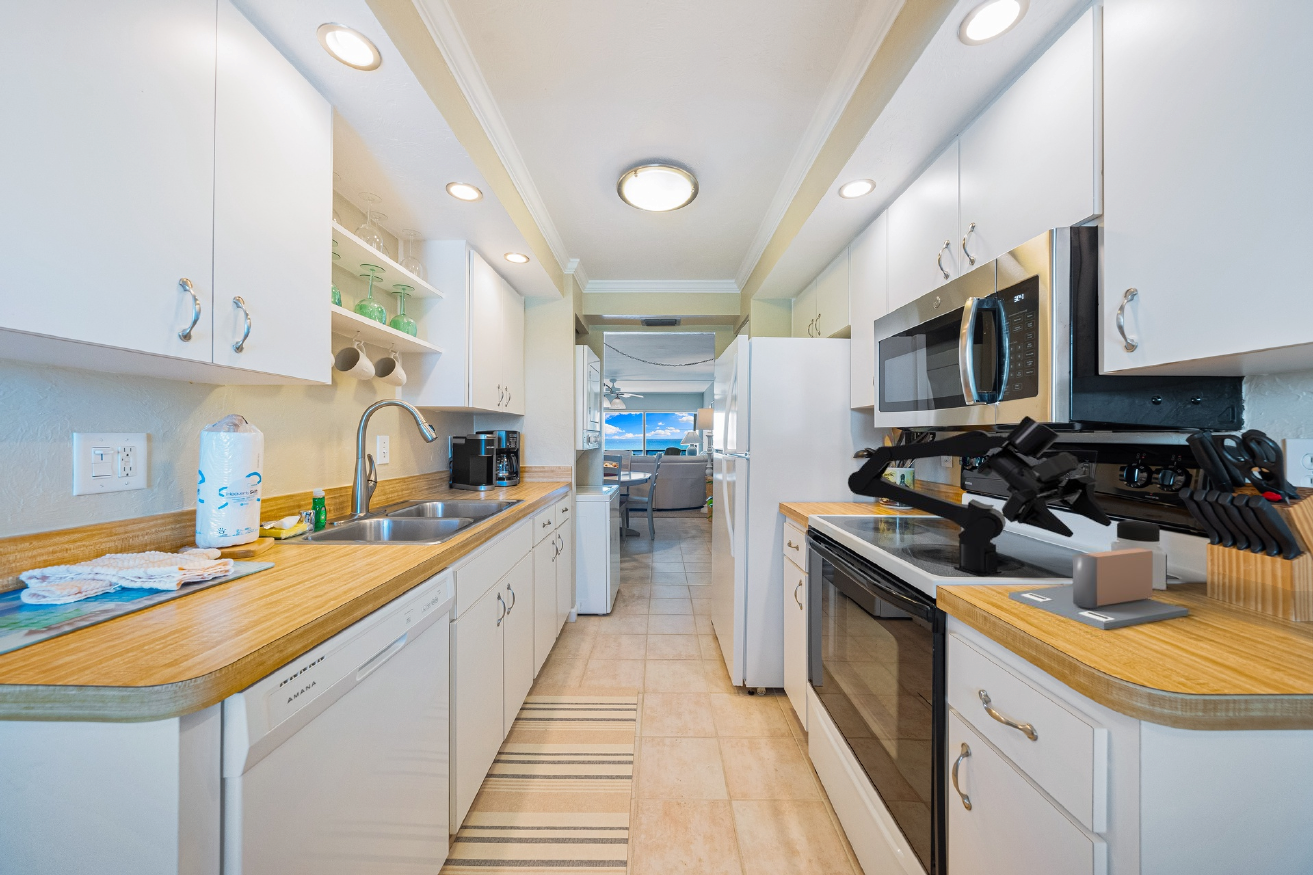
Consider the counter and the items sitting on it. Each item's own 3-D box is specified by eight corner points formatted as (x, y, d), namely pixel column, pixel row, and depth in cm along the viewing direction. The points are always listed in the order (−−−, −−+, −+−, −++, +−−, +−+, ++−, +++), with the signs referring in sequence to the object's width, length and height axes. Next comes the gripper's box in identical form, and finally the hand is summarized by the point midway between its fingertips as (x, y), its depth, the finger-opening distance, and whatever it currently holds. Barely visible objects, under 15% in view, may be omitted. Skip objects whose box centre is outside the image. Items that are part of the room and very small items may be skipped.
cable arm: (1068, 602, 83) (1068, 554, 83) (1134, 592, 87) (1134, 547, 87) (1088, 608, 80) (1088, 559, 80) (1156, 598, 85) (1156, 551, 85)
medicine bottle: (1167, 591, 93) (1167, 526, 93) (1115, 584, 97) (1115, 522, 97) (1159, 581, 99) (1159, 521, 98) (1110, 575, 103) (1111, 517, 103)
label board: (1008, 598, 90) (1008, 591, 90) (1086, 587, 95) (1086, 581, 95) (1103, 629, 75) (1103, 621, 75) (1188, 615, 81) (1188, 607, 81)
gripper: (999, 451, 94) (1076, 509, 82) (1073, 434, 99) (1156, 487, 87) (975, 493, 101) (1042, 552, 89) (1045, 476, 105) (1118, 530, 94)
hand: (1090, 530), depth 90 cm, fingers open, 9 cm apart
